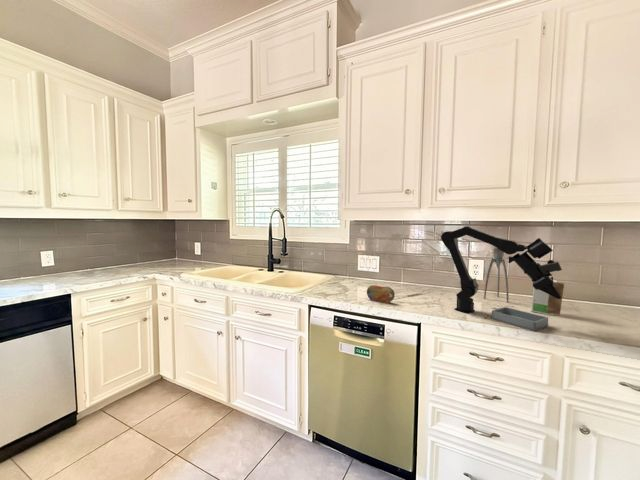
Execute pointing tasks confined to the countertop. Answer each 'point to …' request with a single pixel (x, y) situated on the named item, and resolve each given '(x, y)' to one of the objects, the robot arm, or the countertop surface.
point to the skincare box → (540, 301)
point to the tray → (520, 318)
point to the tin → (380, 293)
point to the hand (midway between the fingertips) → (559, 297)
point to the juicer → (498, 260)
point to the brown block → (555, 299)
